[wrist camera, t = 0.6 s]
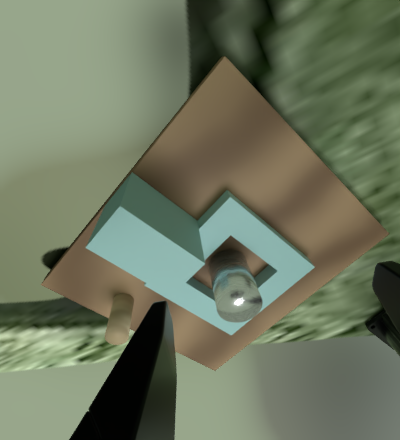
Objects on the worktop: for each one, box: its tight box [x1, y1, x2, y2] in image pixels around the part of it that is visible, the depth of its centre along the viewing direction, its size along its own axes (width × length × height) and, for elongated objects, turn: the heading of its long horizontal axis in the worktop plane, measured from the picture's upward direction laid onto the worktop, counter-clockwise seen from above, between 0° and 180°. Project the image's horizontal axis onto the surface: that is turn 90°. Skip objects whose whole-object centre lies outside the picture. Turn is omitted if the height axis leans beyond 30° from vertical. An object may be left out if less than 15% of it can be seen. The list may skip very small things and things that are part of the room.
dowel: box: [105, 293, 134, 345], centre depth 21 cm, size 2×2×4 cm
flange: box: [86, 172, 315, 335], centre depth 19 cm, size 14×9×5 cm, turn 48°
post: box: [209, 249, 263, 323], centre depth 20 cm, size 3×3×4 cm
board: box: [41, 56, 389, 370], centre depth 22 cm, size 18×20×1 cm
